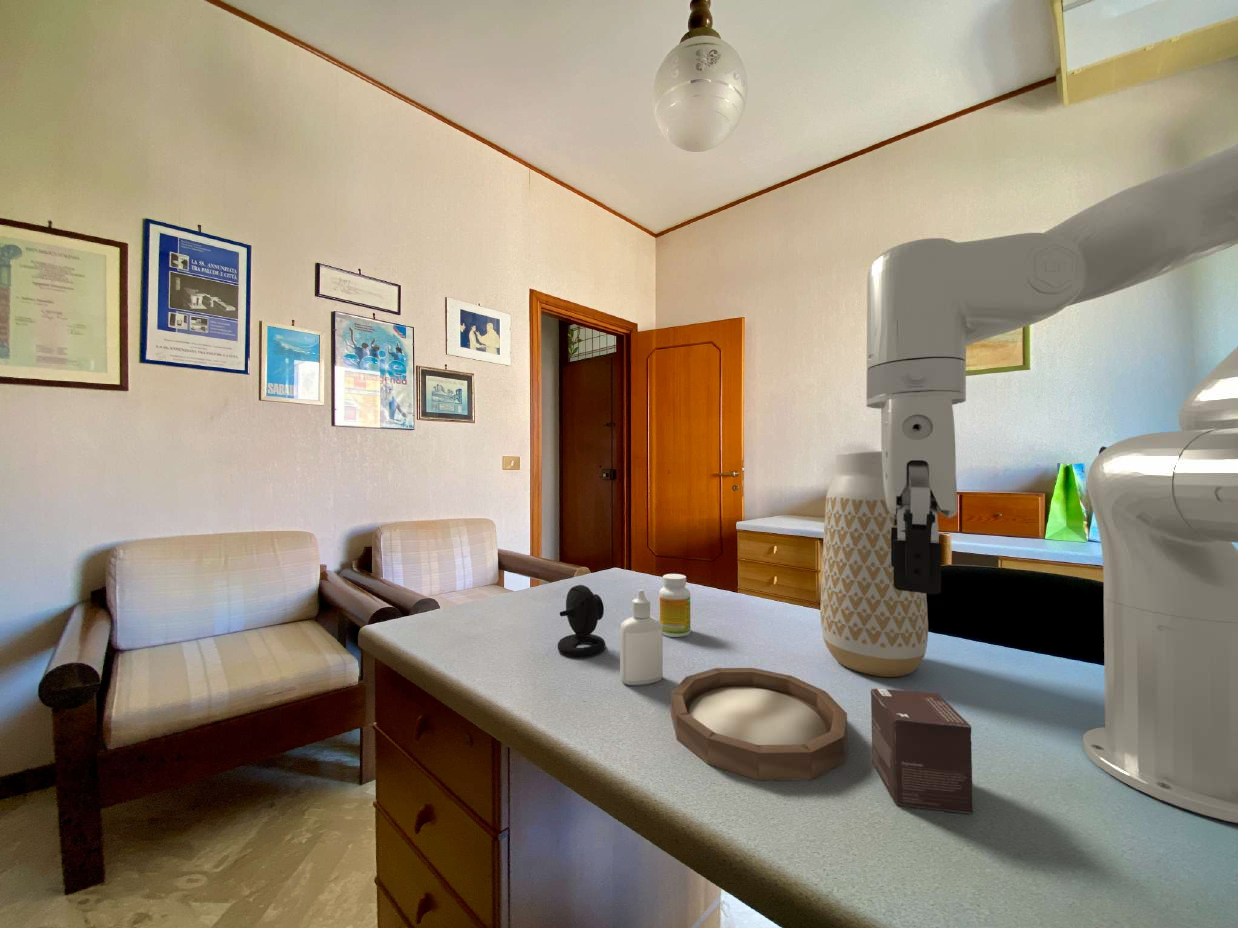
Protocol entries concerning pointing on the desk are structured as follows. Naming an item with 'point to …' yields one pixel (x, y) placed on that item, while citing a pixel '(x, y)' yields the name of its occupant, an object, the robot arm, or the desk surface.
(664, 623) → the supplement bottle
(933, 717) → the box
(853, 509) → the vase
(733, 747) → the round tray
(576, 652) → the webcam
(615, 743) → the desk surface
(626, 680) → the eye dropper bottle
